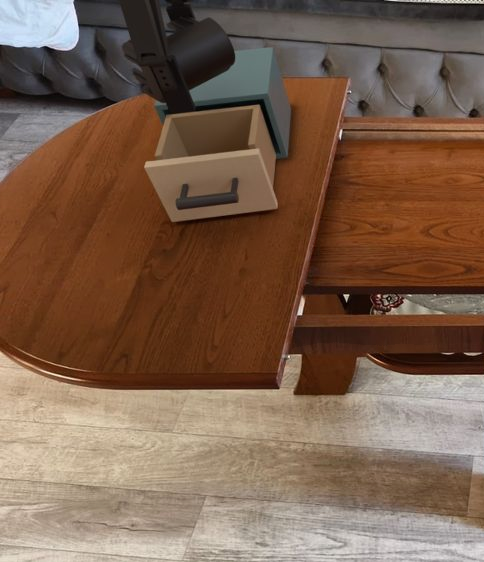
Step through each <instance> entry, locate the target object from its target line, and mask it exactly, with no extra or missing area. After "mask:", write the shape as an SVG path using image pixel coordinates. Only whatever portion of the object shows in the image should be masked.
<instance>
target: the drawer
mask: <svg viewBox="0 0 484 562" xmlns="http://www.w3.org/2000/svg"><path fill="white" fill-rule="evenodd" d="M154 158H155V160H147V161H145V163H144V166H143V167H144V168H143V169H144V170H145V172H146V174H147V176H148V178H149V181H150V183H151V184H152V186H153V188H154V190H155V192H156V194H157V196H158V197H159V200H160V202H161V204H162V205H163V207H164V210H165V211H166V214H167V216H168V217H169V219H170V221H171V223H176V222H184V221H192V220H199V219H206V218H207V219H208V218H216V217H222V216H224V217H225V216H231V215H238V214H239V215H240V214H247V213H254V212H255V213H256V212H263V211H271V210H278V205H279V203H278V199H277V197H276V193H275V190H274V183H275V182H274V181H275V173H276V172H275V171H276V161H277V159H276V154H275V150H274V147H273V144H272V141H271V138H270V135H269V132H268V129H267V126H266V123H265V120H264V117H263V114H262V110H261V107H260V105H252V106H243V107H234V108H225V109H216V110H207V111H198V112H189V113H180V114H171V115H166V119H165V122H164V125H162V129H161V132H160V136H159V139H158V143H157V146H156V150H155V153H154Z"/></svg>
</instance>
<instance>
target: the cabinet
mask: <svg viewBox="0 0 484 562" xmlns="http://www.w3.org/2000/svg"><path fill="white" fill-rule="evenodd" d="M234 52H235V63H234V64H233V65H232V66H231V67H230V69H229V70H228V71H226V72H224V73H222V74H220V75H218V76H216V77H214V78H213V79H211V80H209V81H207V82H205V83H203V84H201V85H199V86H197V87H195V88H193V89H191V90H189V92H190V95H191V97H192V99H193V102H194V104H195V107H196V108H195V111H191V112H198V111H207V110H216V109H225V108H234V107H243V106H252V105H260V107H261V110H262V114H263V117H264V120H265V123H266V126H267V129H268V132H269V135H270V138H271V141H272V144H273V147H274V150H275V154H276V160H278V159H279V160H280V159H286V158H288V156H289V145H290V144H289V143H290V132H291V131H290V130H291V116H292V108H291V105H290V104H291V103H290V100H289V97H288V93H287V91H286V87H285V84H284V80H283V76H282V74H281V70H280V66H279V62H278V59H277V55H276V52H275V49H274V47H273V46H270V47H269V46H268V47H260V48H250V49H240V50H234ZM154 101H155V102H154V104H153V107H154V109H155V112H156V113H157V114H156V115H158V118H159V120H160V122H161V125H162V126H163V125H164V122H165V119H166V115H171V114H170V112H169V109H168V107H167V105H166V103H161V102H159V101H157V100H154ZM182 113H189V112H182ZM173 114H180V113H173Z"/></svg>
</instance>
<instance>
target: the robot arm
mask: <svg viewBox="0 0 484 562" xmlns="http://www.w3.org/2000/svg"><path fill="white" fill-rule="evenodd" d="M164 1H165V3H166V4H167V5H168V6H166V8H165V11H166V13H167V16H168V18H169V22H170V21H174V20H176V19H178V18H180V17H181V16H182V17H183V16H189V17H191V18H193V19H195V20H197V19H196V16H195V13H194V11H193V8H192V5H191V4H190V3H192V2H196V1H197V0H164ZM118 2H119V5H120V8H121V12H122V16H123V18H124V21H125V25H126V28H127V32H128V35H129V39H131V42H132V45H133V48H134V51H135V55H136V61H137V63H138V64H139V66H140V67H146V66H149V67H150V69H151V71H152V73H153V76H154V78H155V80H156V82H157V85H158V87H159V89H160V91H161V94H162V96H163V98H164V100H165V103H166V105H167V107H168V109H169V112H170V114H173V113H182V112H191V111H195V108H196V107H195V104H194V102H193V99H192V97H191V95H190V92H189V90H188V87H187V85H186V82H185V80H184V77H183V75H182V72H181V70H180V68H179V65H178V63H177V60H176V58H175V55H171V54H170V51H169V46H168V41H167V36H168V35H167V32H166V27H165V23H164V18H163V13H162V8H161V4H160V0H118ZM139 66H138V67H139ZM140 67H139V68H140Z"/></svg>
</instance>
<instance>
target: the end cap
mask: <svg viewBox="0 0 484 562" xmlns="http://www.w3.org/2000/svg"><path fill="white" fill-rule="evenodd" d="M195 19H196V18H195ZM195 19H193V18H191V17H189V16H183V17H182V16H181V17H180V18H178V19H176V20H174V21H170V20H169V22H167V23H166V27H167V28H168V29H170V30H172V31H173V33H171V34H169V35H166V36H167V41H168V46H169V51H170V54H171V55H175V58H176V60H177V63H178V65H179V68H180V70H181V72H182V75H183V77H184V80H185V82H186V85H187V87H188V90H191V89H193V88H195V87H197V86H199V85H201V84H203V83H205V82H207V81H209V80H211V79H213V78H214V77H216V76H218V75H220V74H222V73H224V72H226V71H228V70H229V69H230V67H231V66H232V65H233V64H234V63H235V52H234V51H235V48H234V46H233V44H232V41H231V39H230V38H229V36H228V34H227V32H226V31H225V30H224V28H223V27H222V25H220V24H219V23H218V22H217V21H216V20H215V19H214V18H212V17H210V16H208V17H206V18H203V19H201V20H197V19H196V20H195ZM121 50H122V53H123V57H124V58H125V59H126V60H128V61H130V62H131V63H133V64H135V65H136V66H138V67H139V68H140V69H141V70H139V69H138V68H136V67H132V68H131V71H132V76H134V77H135V79H136V80H137V81H138V82H140V83H142V84H144V85H143V86H142V87H141V90H142V91H143V93H144V94H145V95H146V96H147V95H148V97H150V98H152V99H154V101H156V100H157V101H159V102H161V103H165V100H164V98H163V96H162V94H161V91H160V89H159V87H158V85H157V82H156V80H155V78H154V76H153V73H152V71H151V69H150V67H149V66H146V67H140V66H139V64H138V63H137V61H136V55H135V51H134V48H133V45H132V42H131V38H129V39H128V40H127V41H125V42H123V44H122V45H121Z"/></svg>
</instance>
